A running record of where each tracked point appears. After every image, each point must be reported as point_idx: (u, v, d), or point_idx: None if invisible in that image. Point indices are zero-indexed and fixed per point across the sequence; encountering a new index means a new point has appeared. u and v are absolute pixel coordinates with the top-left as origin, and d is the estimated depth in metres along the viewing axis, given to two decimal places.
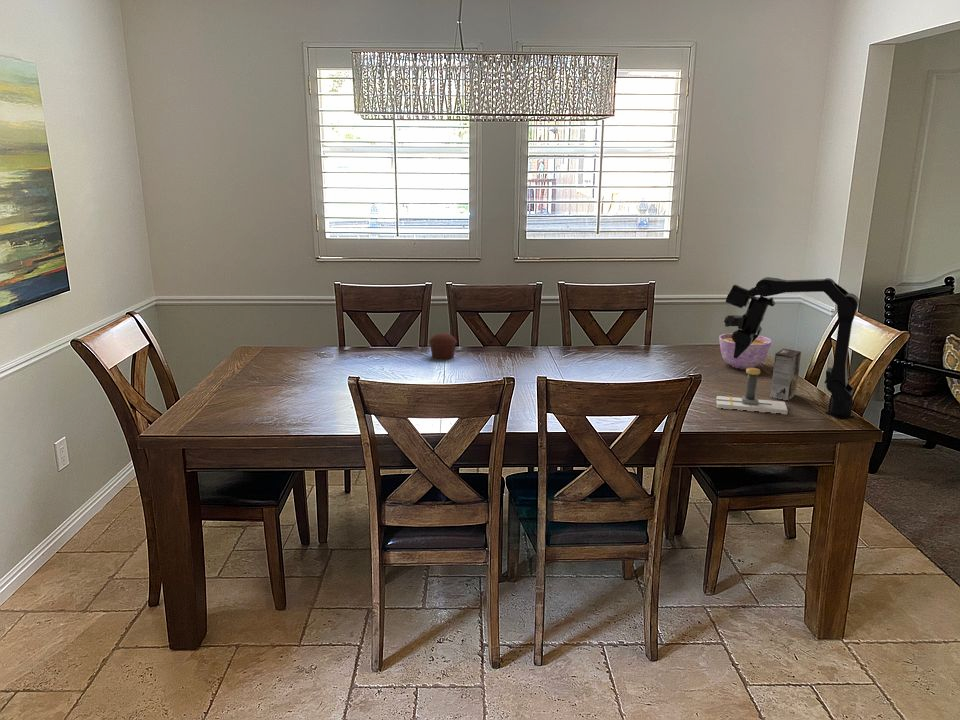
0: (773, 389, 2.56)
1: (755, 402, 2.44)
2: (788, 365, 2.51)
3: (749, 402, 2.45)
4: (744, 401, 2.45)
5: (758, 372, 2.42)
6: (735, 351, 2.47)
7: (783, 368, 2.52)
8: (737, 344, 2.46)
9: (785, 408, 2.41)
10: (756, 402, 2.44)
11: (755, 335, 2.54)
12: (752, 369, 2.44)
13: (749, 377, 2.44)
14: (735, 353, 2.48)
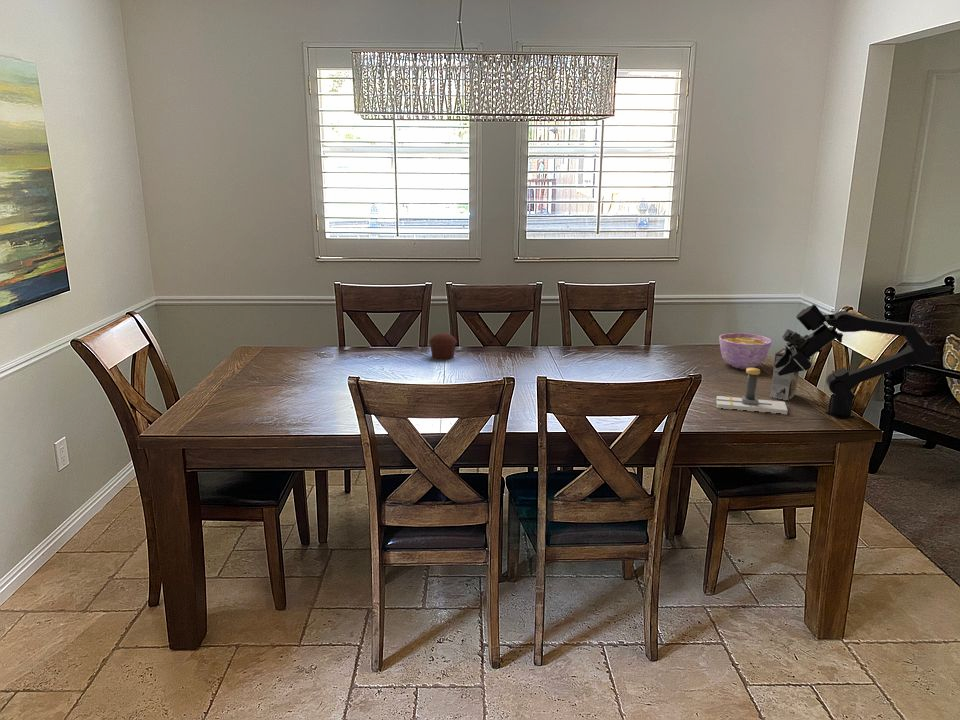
0: (773, 389, 2.56)
1: (755, 402, 2.44)
2: None
3: (749, 402, 2.45)
4: (744, 401, 2.45)
5: (758, 372, 2.42)
6: (783, 369, 2.36)
7: None
8: (790, 364, 2.34)
9: (785, 408, 2.41)
10: (756, 402, 2.44)
11: None
12: (752, 369, 2.44)
13: (749, 377, 2.44)
14: (782, 371, 2.36)
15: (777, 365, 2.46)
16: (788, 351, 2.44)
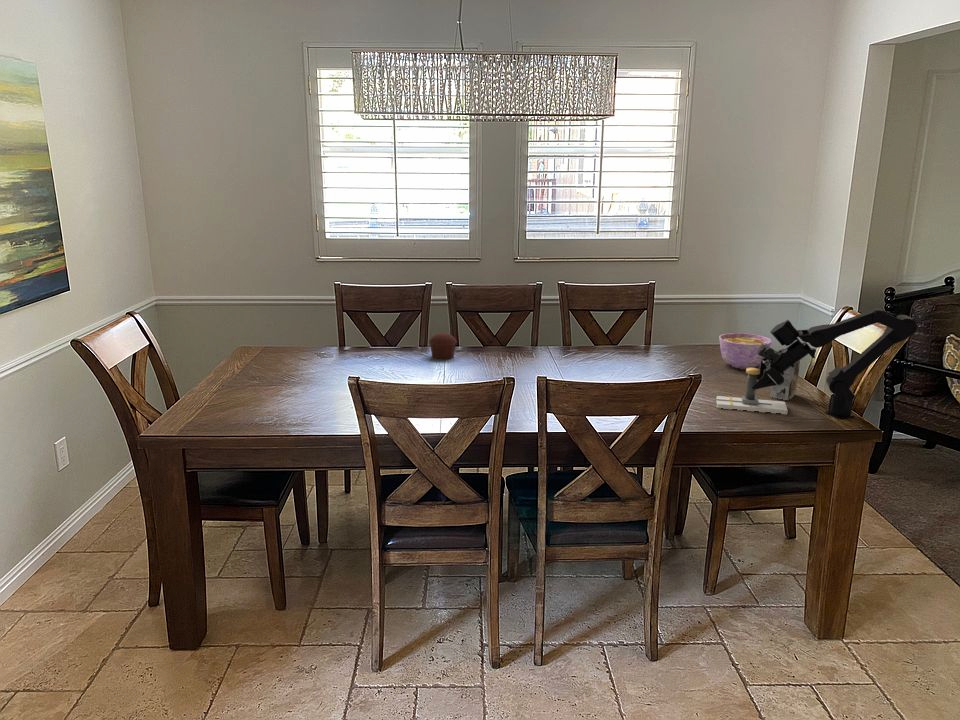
0: (773, 389, 2.56)
1: (755, 402, 2.44)
2: None
3: (749, 402, 2.45)
4: (744, 401, 2.45)
5: (758, 372, 2.42)
6: (757, 383, 2.39)
7: None
8: (764, 378, 2.38)
9: (785, 408, 2.41)
10: (756, 402, 2.44)
11: None
12: (752, 369, 2.44)
13: (749, 377, 2.44)
14: (756, 385, 2.40)
15: None
16: (763, 365, 2.48)
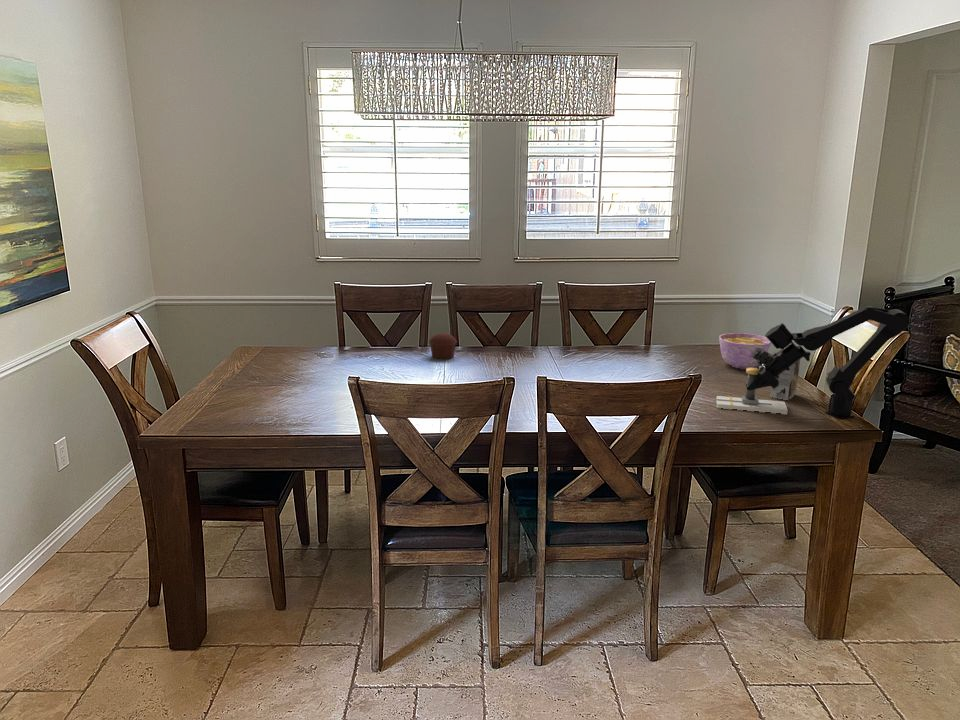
0: (773, 389, 2.56)
1: (755, 402, 2.44)
2: None
3: (749, 402, 2.45)
4: (744, 401, 2.45)
5: None
6: (752, 384, 2.43)
7: None
8: (758, 379, 2.41)
9: (785, 408, 2.41)
10: (756, 402, 2.44)
11: None
12: (752, 369, 2.44)
13: (749, 377, 2.44)
14: (750, 386, 2.43)
15: None
16: None
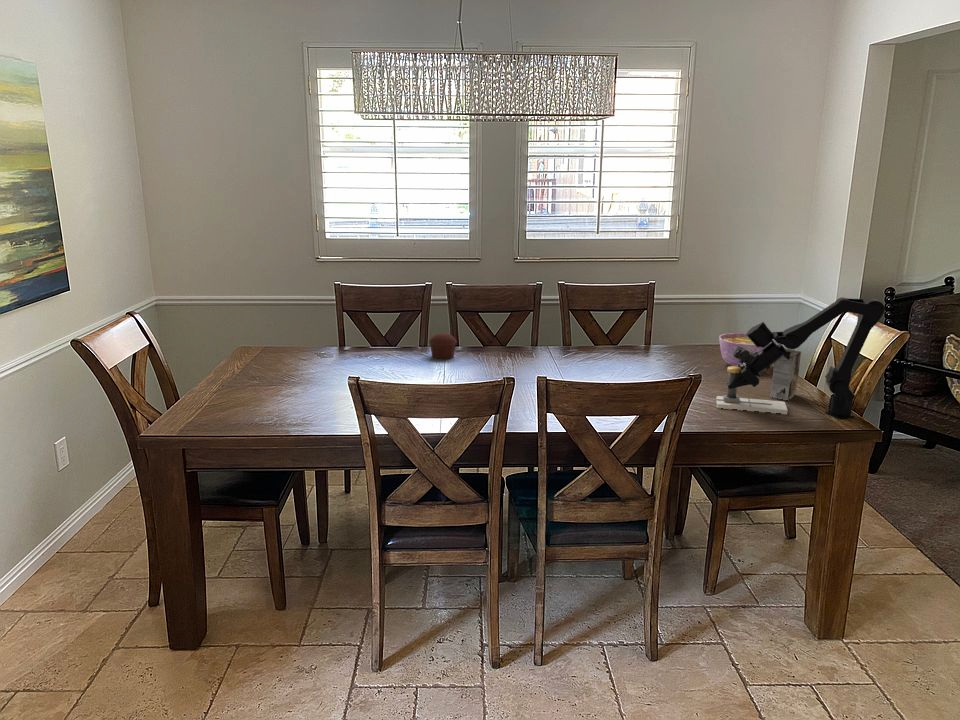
0: (773, 389, 2.56)
1: (736, 400, 2.46)
2: (788, 365, 2.51)
3: (730, 400, 2.47)
4: (725, 399, 2.47)
5: None
6: (733, 382, 2.44)
7: (783, 368, 2.52)
8: (739, 378, 2.43)
9: (785, 408, 2.41)
10: (737, 400, 2.46)
11: None
12: (733, 368, 2.45)
13: (730, 375, 2.45)
14: (731, 384, 2.45)
15: None
16: None
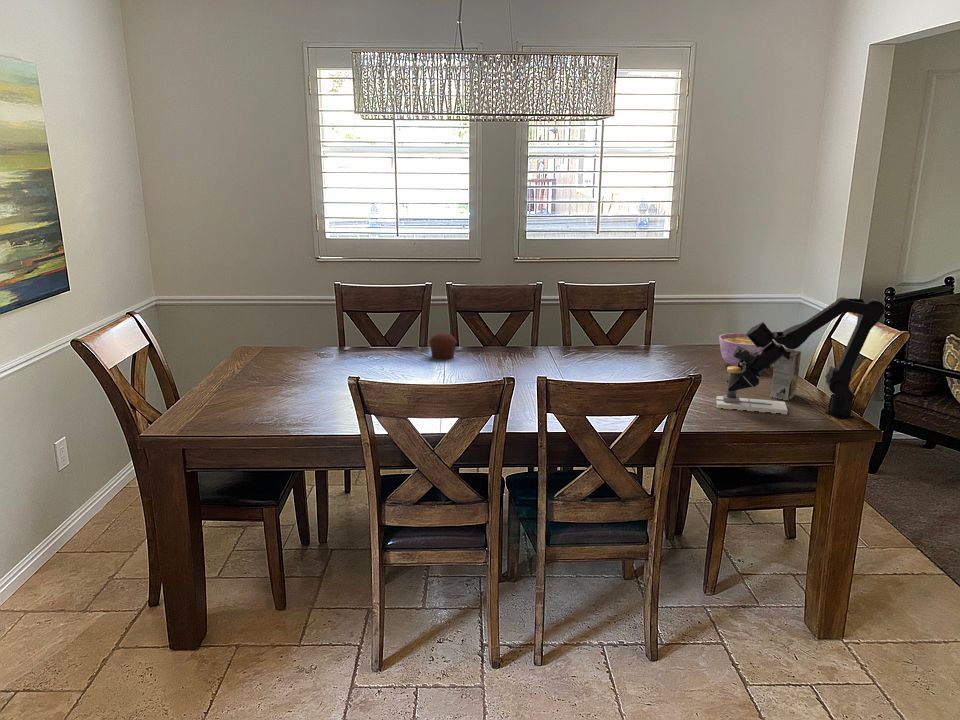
0: (773, 389, 2.56)
1: (736, 400, 2.46)
2: (788, 365, 2.51)
3: (730, 400, 2.47)
4: (725, 399, 2.47)
5: (739, 371, 2.44)
6: (733, 385, 2.42)
7: (783, 368, 2.52)
8: (740, 380, 2.40)
9: (785, 408, 2.41)
10: (737, 400, 2.46)
11: None
12: (733, 368, 2.45)
13: (730, 375, 2.45)
14: (732, 387, 2.42)
15: None
16: None
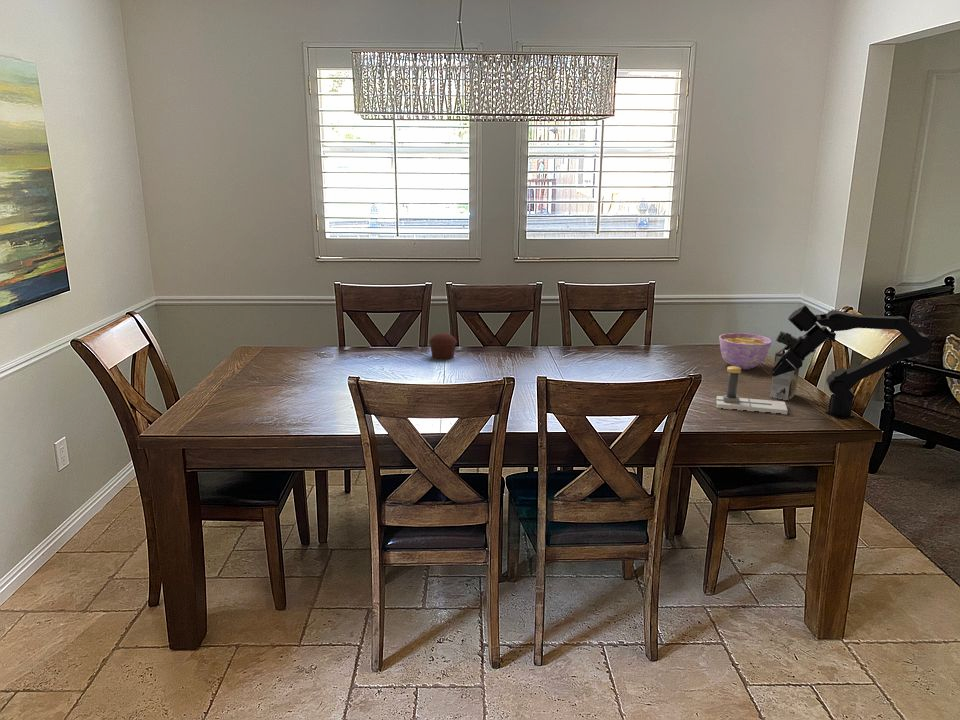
0: (773, 389, 2.56)
1: (736, 400, 2.46)
2: None
3: (730, 400, 2.47)
4: (725, 399, 2.47)
5: (739, 371, 2.44)
6: (777, 369, 2.37)
7: None
8: (783, 364, 2.35)
9: (785, 408, 2.41)
10: (737, 400, 2.46)
11: None
12: (733, 368, 2.45)
13: (730, 375, 2.45)
14: (775, 371, 2.37)
15: (774, 369, 2.47)
16: None
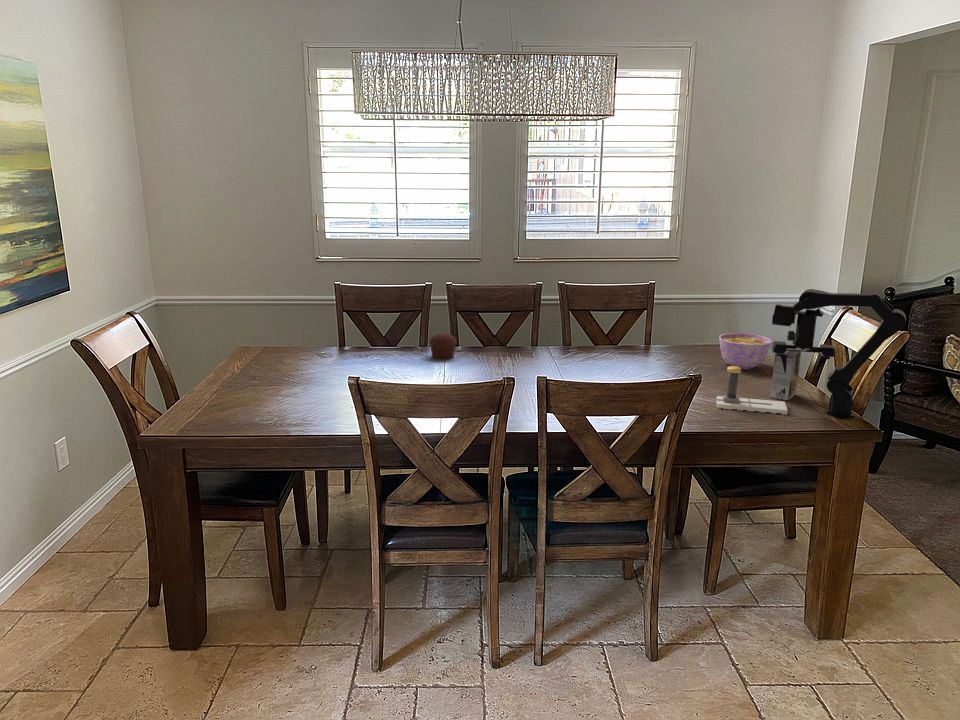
0: (773, 389, 2.56)
1: (736, 400, 2.46)
2: (788, 365, 2.51)
3: (730, 400, 2.47)
4: (725, 399, 2.47)
5: (739, 371, 2.44)
6: None
7: None
8: None
9: (785, 408, 2.41)
10: (737, 400, 2.46)
11: (824, 356, 2.38)
12: (733, 368, 2.45)
13: (730, 375, 2.45)
14: (783, 367, 2.45)
15: (814, 372, 2.42)
16: (818, 355, 2.42)
